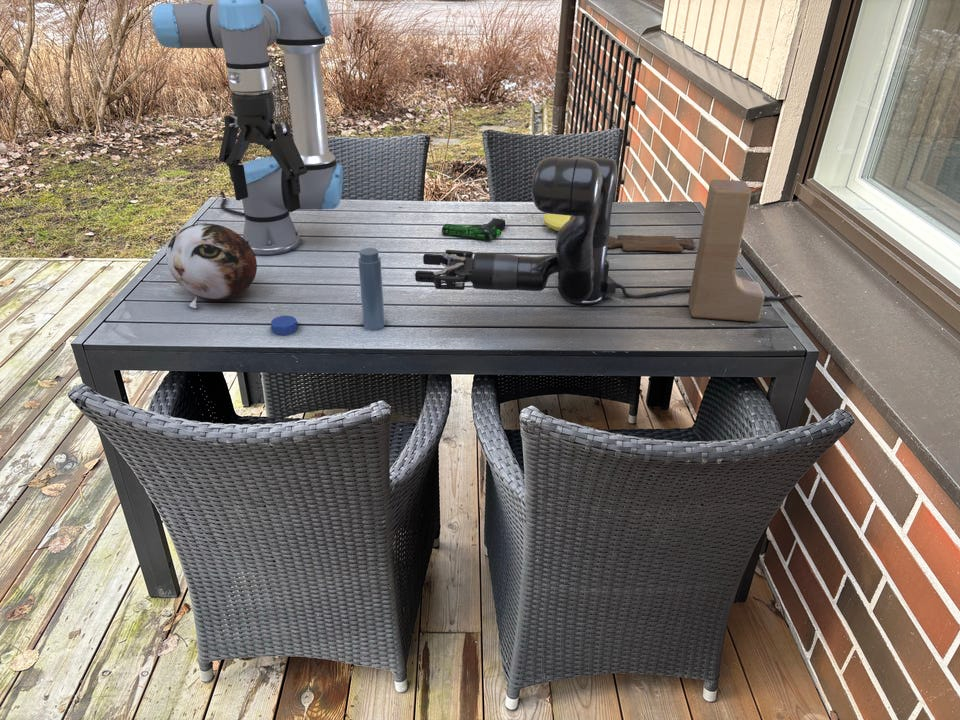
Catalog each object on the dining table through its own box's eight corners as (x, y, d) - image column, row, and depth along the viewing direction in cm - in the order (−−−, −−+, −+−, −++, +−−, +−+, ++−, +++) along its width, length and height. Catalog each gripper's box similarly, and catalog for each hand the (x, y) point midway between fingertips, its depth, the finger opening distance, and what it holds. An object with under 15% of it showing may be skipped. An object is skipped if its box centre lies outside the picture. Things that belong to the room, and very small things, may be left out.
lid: (291, 336, 153) (290, 328, 152) (267, 334, 154) (266, 325, 153) (301, 325, 157) (300, 316, 156) (278, 322, 158) (277, 314, 157)
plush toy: (130, 285, 161) (164, 203, 163) (192, 308, 177) (221, 233, 178) (195, 307, 151) (229, 220, 152) (254, 330, 166) (285, 250, 168)
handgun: (511, 219, 210) (493, 234, 198) (511, 228, 211) (492, 244, 199) (461, 212, 215) (440, 226, 203) (461, 221, 217) (440, 236, 204)
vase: (559, 216, 220) (561, 193, 217) (605, 227, 212) (608, 204, 209) (532, 230, 209) (533, 207, 206) (580, 242, 201) (582, 218, 198)
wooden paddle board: (698, 254, 196) (690, 241, 205) (699, 248, 195) (691, 235, 204) (604, 251, 196) (600, 238, 205) (605, 245, 195) (601, 232, 204)
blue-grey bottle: (360, 322, 159) (355, 248, 150) (381, 318, 160) (376, 245, 151) (366, 331, 155) (361, 256, 146) (387, 328, 157) (383, 253, 148)
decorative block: (759, 323, 161) (790, 192, 145) (691, 318, 162) (715, 188, 147) (752, 308, 167) (782, 182, 152) (687, 303, 169) (710, 178, 153)
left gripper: (186, 87, 133) (207, 198, 144) (290, 102, 123) (304, 220, 133) (217, 81, 138) (235, 189, 149) (318, 95, 128) (329, 209, 139)
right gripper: (500, 241, 152) (425, 237, 154) (493, 269, 140) (411, 265, 142) (499, 273, 156) (426, 269, 158) (492, 303, 144) (413, 298, 146)
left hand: (267, 204), depth 141 cm, fingers open, 13 cm apart
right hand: (419, 267), depth 150 cm, fingers open, 8 cm apart
